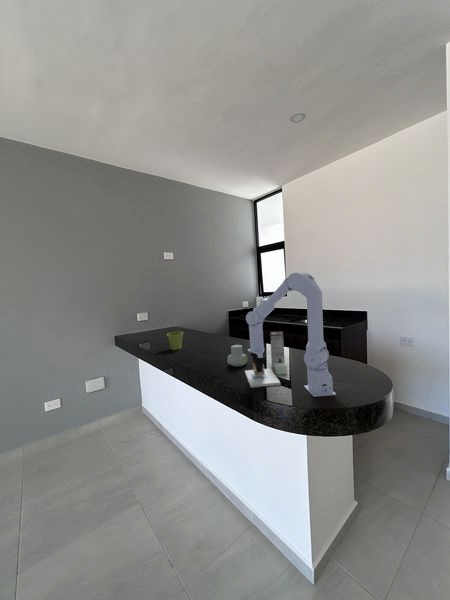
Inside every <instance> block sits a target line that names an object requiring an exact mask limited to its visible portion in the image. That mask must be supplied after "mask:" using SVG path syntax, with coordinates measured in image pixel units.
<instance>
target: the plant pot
mask: <svg viewBox="0 0 450 600" xmlns="http://www.w3.org/2000/svg"><path fill="white" fill-rule="evenodd" d="M166 336H167V339H168V342H169V345H170V350H171V351H178V350H177V349H179V350H181V349H182V347H183V346H182V345H183V344H182V343H183V337H184V332H183V331H174V332H169V333H167V334H166Z"/></svg>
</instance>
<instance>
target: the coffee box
mask: <svg viewBox="0 0 450 600" xmlns="http://www.w3.org/2000/svg"><path fill="white" fill-rule="evenodd" d="M269 342H270V355H271V356H270V357H271V368H275V363H284V364H285V361H286V360H285V344H284V343H285V342H284V332H283V331H270V334H269ZM285 365H286V364H285Z"/></svg>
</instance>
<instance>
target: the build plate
mask: <svg viewBox="0 0 450 600" xmlns="http://www.w3.org/2000/svg"><path fill="white" fill-rule="evenodd" d="M244 374H245V377H246V380H247V382H248V384H249V387H250V388H260V387H272V386H273V387H274V386H281V382H280V380H279V378H278V377H277V375H276V373H274V372H273V371H272V369H271V368H264V374H265V375H255V374H254V370H253V369H248V370H244Z"/></svg>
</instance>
